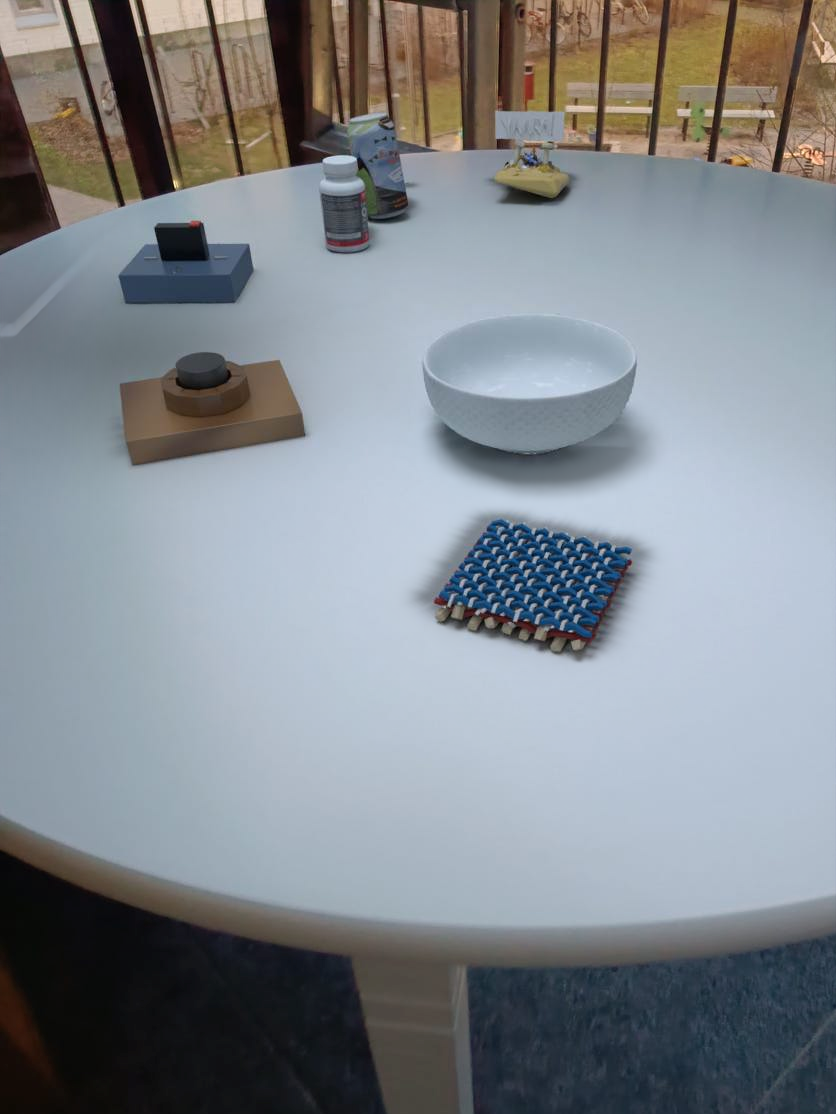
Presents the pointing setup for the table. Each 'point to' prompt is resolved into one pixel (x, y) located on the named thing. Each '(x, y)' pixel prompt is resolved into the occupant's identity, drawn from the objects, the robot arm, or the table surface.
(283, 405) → the button box
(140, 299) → the panel
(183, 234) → the knob
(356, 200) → the pill bottle
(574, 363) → the cereal bowl
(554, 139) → the miniature sign display
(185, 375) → the button
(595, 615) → the woven mat
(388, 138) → the beverage can
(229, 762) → the table surface
